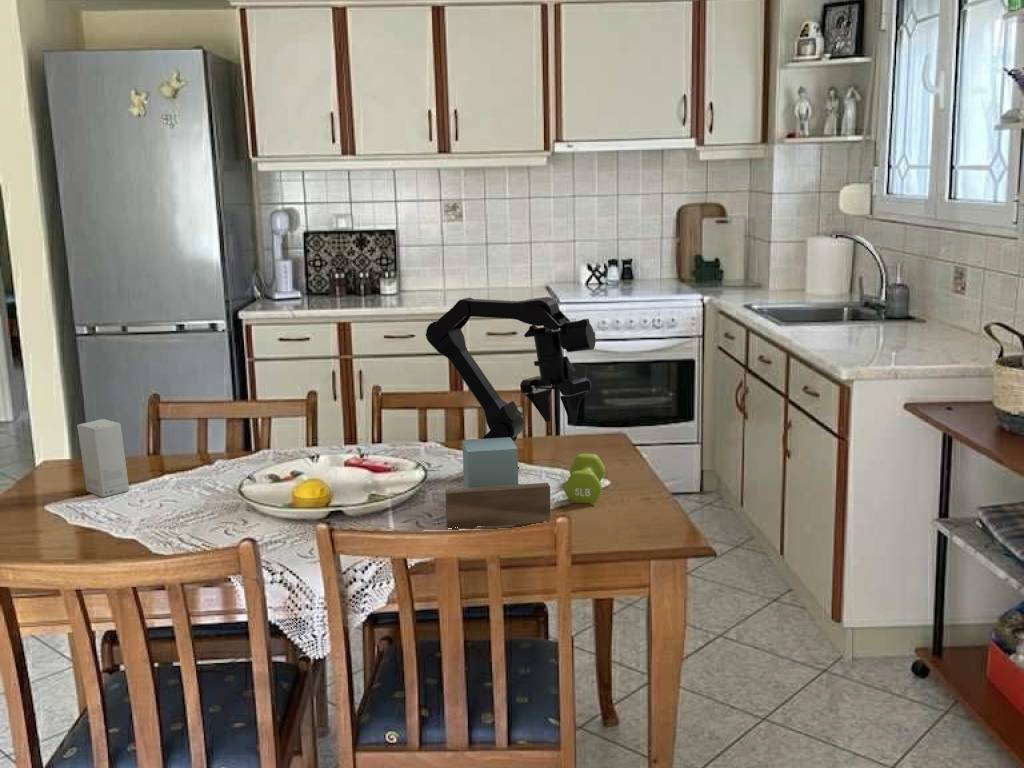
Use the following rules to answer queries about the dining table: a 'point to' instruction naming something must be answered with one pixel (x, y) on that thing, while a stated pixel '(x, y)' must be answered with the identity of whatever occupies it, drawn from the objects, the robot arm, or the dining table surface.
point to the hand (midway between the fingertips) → (560, 422)
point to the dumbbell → (585, 479)
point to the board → (498, 505)
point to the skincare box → (103, 457)
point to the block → (490, 462)
